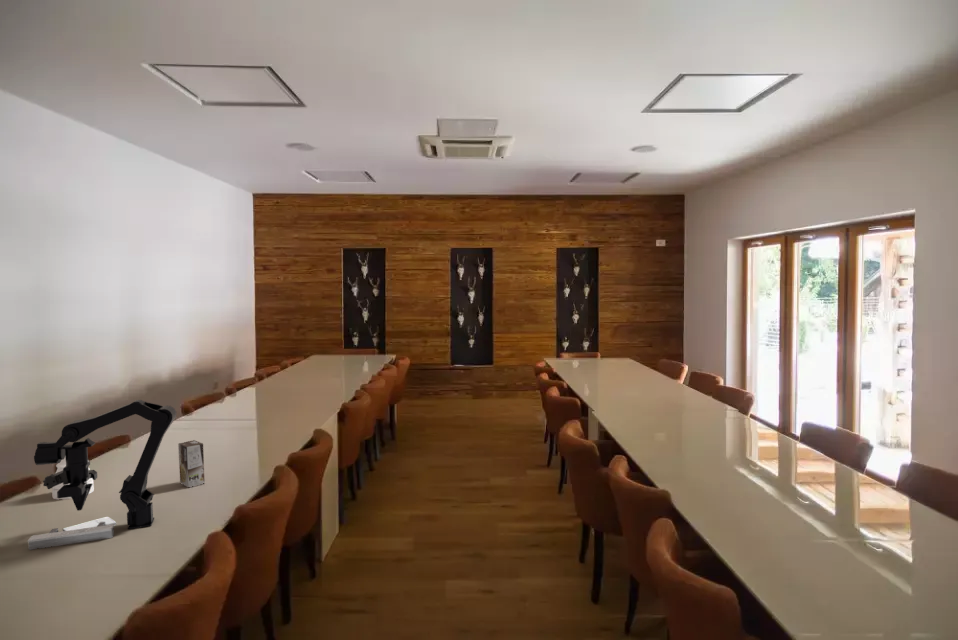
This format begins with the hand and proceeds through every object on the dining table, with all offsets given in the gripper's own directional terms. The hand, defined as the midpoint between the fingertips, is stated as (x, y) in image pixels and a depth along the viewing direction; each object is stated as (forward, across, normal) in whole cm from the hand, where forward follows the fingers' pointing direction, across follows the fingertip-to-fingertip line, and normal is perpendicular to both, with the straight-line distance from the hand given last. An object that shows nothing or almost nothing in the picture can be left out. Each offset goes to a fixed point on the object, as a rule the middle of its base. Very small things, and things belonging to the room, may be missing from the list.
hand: (79, 510), depth 178 cm
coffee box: (+7, -37, +28) cm, 47 cm away
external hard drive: (+8, -2, +2) cm, 8 cm away
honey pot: (+7, -43, -13) cm, 46 cm away
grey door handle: (+7, +5, 0) cm, 9 cm away
